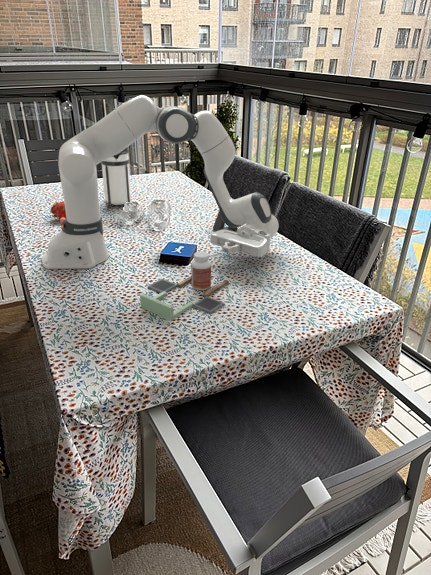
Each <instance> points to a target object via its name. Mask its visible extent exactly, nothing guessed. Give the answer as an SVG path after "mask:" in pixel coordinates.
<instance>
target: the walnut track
mask: <svg viewBox="0 0 431 575" xmlns="http://www.w3.org/2000/svg"><path fill="white" fill-rule="evenodd" d="M189 283H191V276H188V277H186V278H185V279H183V280H181V281H180V282H178V283H176V284H177V287H176V288H182V287H183V286H186V285H187V284H189ZM229 283H230V281H229V280H227V279H224V280H223V281H222V282H220V283H218V284H216V285H215V286H213V287H211V288H209V289H207V290H206V291H205V292H204V293H202V298H204V297H206V296H208V297H211V296H212V295H213V294H214V293H216V292H218V291H219V290H221V289H223V288H224V287H225V286H227V285H229Z"/></svg>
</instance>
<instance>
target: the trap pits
mask: <svg viewBox="0 0 431 575" xmlns="http://www.w3.org/2000/svg"><path fill="white" fill-rule="evenodd" d="M177 284H178V283H175V282H172V281H170V280H167V279H164V278H160V279H158V280H157V281H155V282H152V283H151V284H149V285H148V286H147V289H150V290H152V291H155V292H156V293H158V294H160V293H162V292H163V291H165V292H167V293H169V292H170V291H172V290H174V289H175V288H178V287H177ZM224 305H225V302H223V301H220V300H217V299H215V298H212V297H211V296H206V297H202V298H201V299H199V300H197V301H196V302H194V303H193V308H196V309H197V310H201V311H202V312H205V313H208V314H210V315H211V314H213V313H214V312H216V311H217V310H219V309H221V307H223V306H224Z"/></svg>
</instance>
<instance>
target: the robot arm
mask: <svg viewBox="0 0 431 575" xmlns="http://www.w3.org/2000/svg"><path fill="white" fill-rule="evenodd" d="M150 132H155V133H156V134H157V135H158V136H159V137H160V138H161V139H162V140H164V141H166V143H171V144H181V143H185V142H187V141H192V143H193V144H194V145H195V147H196V148H197V150H198V152H199V153H200V155H201V157H202V159H203V163H204V167H203V174H204V178H205V180H206V182H207V184H208V187H209V190H210V192H211V194H212V195H213V198H214V201H215V203H216V205H217V207H218V211H219V210H220V214H221V218H222V220H223V222H224V223H225V225H226V227H228V226H229V227H231V228H238V230H237V232H234V231H230V230H226V229H223V230H219V231H216V232H215V231H214V232H211V235H210V243H211V244H212V245H216V246H218V247H221V252H224V253H227V254H232V253H237V252H238V253H242V254H245V255H248V256H252V257H254V258H261V257H263V256H265V255H267V253H269V252H270V247H271V239H273V237H275V236H276V234H277V232H278V231H279V227H280V226H279V220H278V219H277V217H276V216H274V215H273V214H272V209H271V207H272V206H271V205H270V202H269V200H268V199H267V197H265V196H264V195H263V194H262V193H260V192H253V193H248V194H247V195H244V196H241V197H238V198H236V199H234V198H232V197H231V195H230V193H229V191H228V188H227V185H226V184H225V181H224V173H225V172H226V171H227V170H228V168H229V167H230V166H231V165H232V163H233V162H234V159H235V155H236V147H235V144H234V142H233V140H232V138H231V137H230V135H229V134H228V132H227V130H226V129H225V127H224V126H223V124H222V123H221V122H220V120H219V119H218V118H217V117H216V115H214V113H213V112H211V111H210V110H201V111H198V112H196V113H195V114H192V113H191V112H189V111H188V110H186V109H185V108H182V107H179V106H175V105H169V106H162V107H159V106H157V104H156V103H155V102H154V101H153V99H151V98H150V97H149V96H147V95H143V94H140V95H137V96H135V97H132V98H131V99H129V100H127V101H125V102H124V103H122V104H120V105H119V106H118V107H116V108H115V109H114V110H112V111H111V112H109V113H108V114H106V115H105V116H104V117H102V118H101V119H100V120H98V121H97V122H96V123H94V124H92V125H91V126H89V127H87V128H86V129H84V130H82V131H80V132H79V133H78V134H76V135H74V136H73V137H71V138H70V139H68V140H66V141H65V142H64V143H63V144H62V145H61V146H60V148H59V150H58V162H57V163H58V164H57V165H58V171H59V177H60V183H61V190H62V195H63V201H64V203H65V210H66V218H67V219H65V218H64V217H62V218H61V219H60V220H59V223H60V228H61V231H60V232H58V233H57V234H56V235H55V236H54V237H52V238H51V239H50V241H49V242H48V244H47V251H46V252H44V254H42V257H41V263H42V266H43V267H44V268H45V269H49V270H55V269H56V270H57V269H59V270H60V269H61V270H64V269H66V270H67V269H68V270H69V269H92V268H93V267H95V266H96V265H99V264H101V263H103V262H105V261H107V260H108V259H109V257H110V254H109V251H108V248H107V246H106V243H105V238H104V221H103V218H102V216H101V210H100V209H101V208H100V198H99V184H98V171H97V165H98V164H101V162H102V161H104V160H106V159H108V158H110V157H112V156H114V155H117V154H118V153H120V152H121V151H123V150H124V149H125V148H128V147H129V146H131V145H132V144H134V143H135V142H137V140H140V138H142V136H144V135H146V134H148V133H150Z"/></svg>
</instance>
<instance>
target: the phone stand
mask: <svg viewBox="0 0 431 575" xmlns="http://www.w3.org/2000/svg"><path fill="white" fill-rule="evenodd" d="M225 225H226V224H225V223H224V222H223V220H222V218H221V214H220V210H219V209H218V212H217V215H216V218H215V221H214V224H213V226H212V230H213V231H214V232H216V231H219V230H223V229H226V230H230V231H234V232H237V230H238V229H239V227H237V228H231V227H229V226H225Z"/></svg>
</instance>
